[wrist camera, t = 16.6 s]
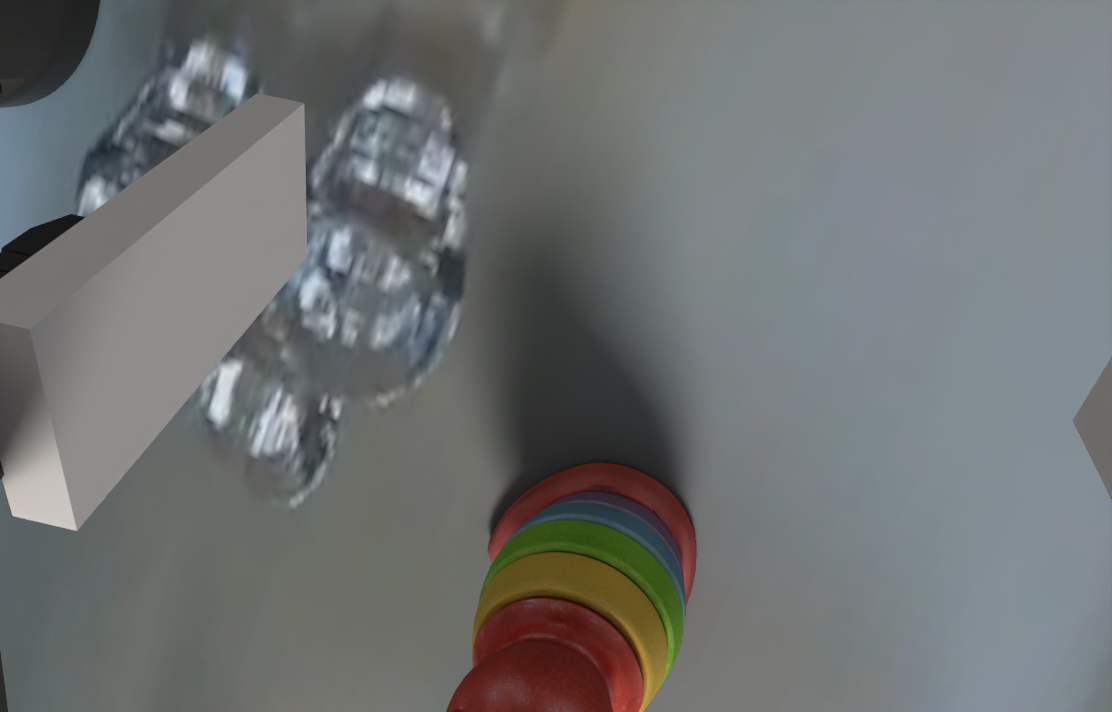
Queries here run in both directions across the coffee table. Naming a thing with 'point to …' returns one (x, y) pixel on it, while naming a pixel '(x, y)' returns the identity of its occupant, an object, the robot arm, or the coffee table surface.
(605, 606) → the stacking bear
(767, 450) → the coffee table surface
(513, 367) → the coffee table surface
